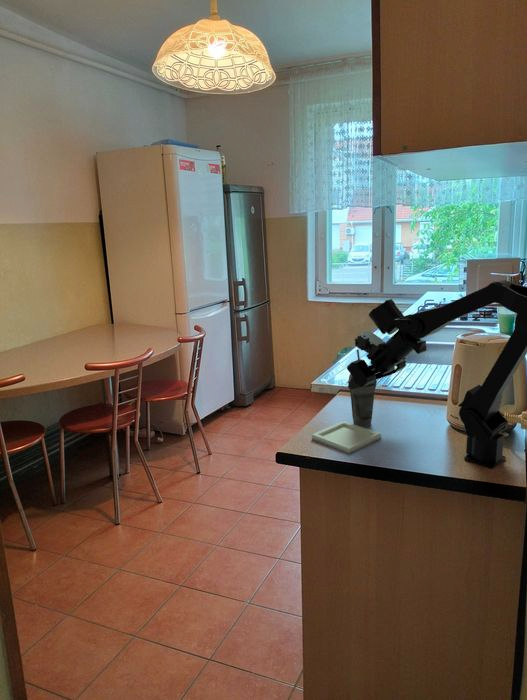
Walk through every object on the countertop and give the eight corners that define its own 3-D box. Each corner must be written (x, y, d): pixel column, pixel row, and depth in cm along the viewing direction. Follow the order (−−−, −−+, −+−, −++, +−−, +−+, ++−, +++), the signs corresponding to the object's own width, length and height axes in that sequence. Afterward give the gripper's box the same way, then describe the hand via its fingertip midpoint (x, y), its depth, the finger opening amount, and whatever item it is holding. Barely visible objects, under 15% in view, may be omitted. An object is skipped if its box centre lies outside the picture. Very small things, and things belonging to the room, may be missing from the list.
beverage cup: (376, 429, 133) (377, 353, 128) (347, 428, 135) (347, 353, 130) (376, 419, 140) (377, 346, 135) (348, 418, 142) (348, 346, 137)
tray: (380, 438, 128) (380, 433, 128) (349, 453, 121) (349, 448, 120) (343, 425, 137) (343, 420, 137) (312, 439, 129) (311, 434, 129)
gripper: (396, 316, 134) (360, 352, 145) (353, 329, 121) (317, 367, 132) (423, 351, 131) (384, 384, 141) (382, 368, 118) (342, 404, 128)
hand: (357, 384), depth 136 cm, fingers closed on beverage cup, 7 cm apart
